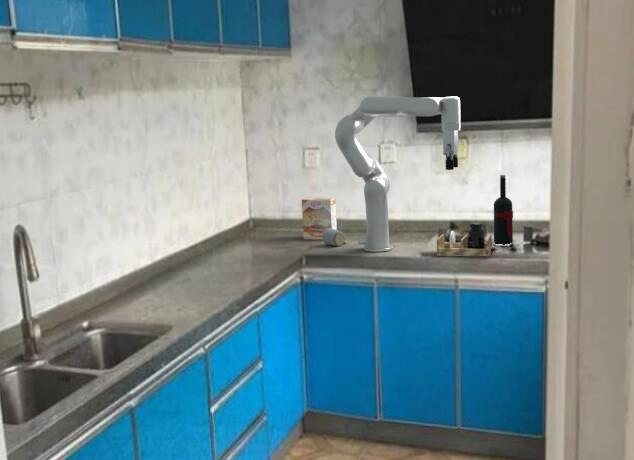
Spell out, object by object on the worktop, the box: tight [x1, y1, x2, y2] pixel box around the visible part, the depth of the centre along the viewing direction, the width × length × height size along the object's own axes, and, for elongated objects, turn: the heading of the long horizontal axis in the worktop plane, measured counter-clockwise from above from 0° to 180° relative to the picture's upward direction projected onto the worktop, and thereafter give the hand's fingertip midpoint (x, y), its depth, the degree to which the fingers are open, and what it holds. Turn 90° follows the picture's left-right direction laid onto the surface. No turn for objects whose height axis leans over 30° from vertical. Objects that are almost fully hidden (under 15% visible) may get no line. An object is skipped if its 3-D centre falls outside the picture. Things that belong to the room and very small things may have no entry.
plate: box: [449, 230, 456, 248], centre depth 296 cm, size 1×9×9 cm, turn 160°
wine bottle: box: [493, 174, 514, 245], centre depth 304 cm, size 8×10×30 cm
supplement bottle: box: [466, 221, 485, 249], centre depth 292 cm, size 7×7×12 cm
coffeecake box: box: [301, 197, 338, 241], centre depth 342 cm, size 15×7×20 cm, turn 67°
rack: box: [436, 233, 493, 257], centre depth 294 cm, size 20×12×7 cm, turn 69°
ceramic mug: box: [322, 228, 348, 247], centre depth 326 cm, size 11×8×8 cm
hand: (451, 168), depth 298 cm, fingers open, 9 cm apart
